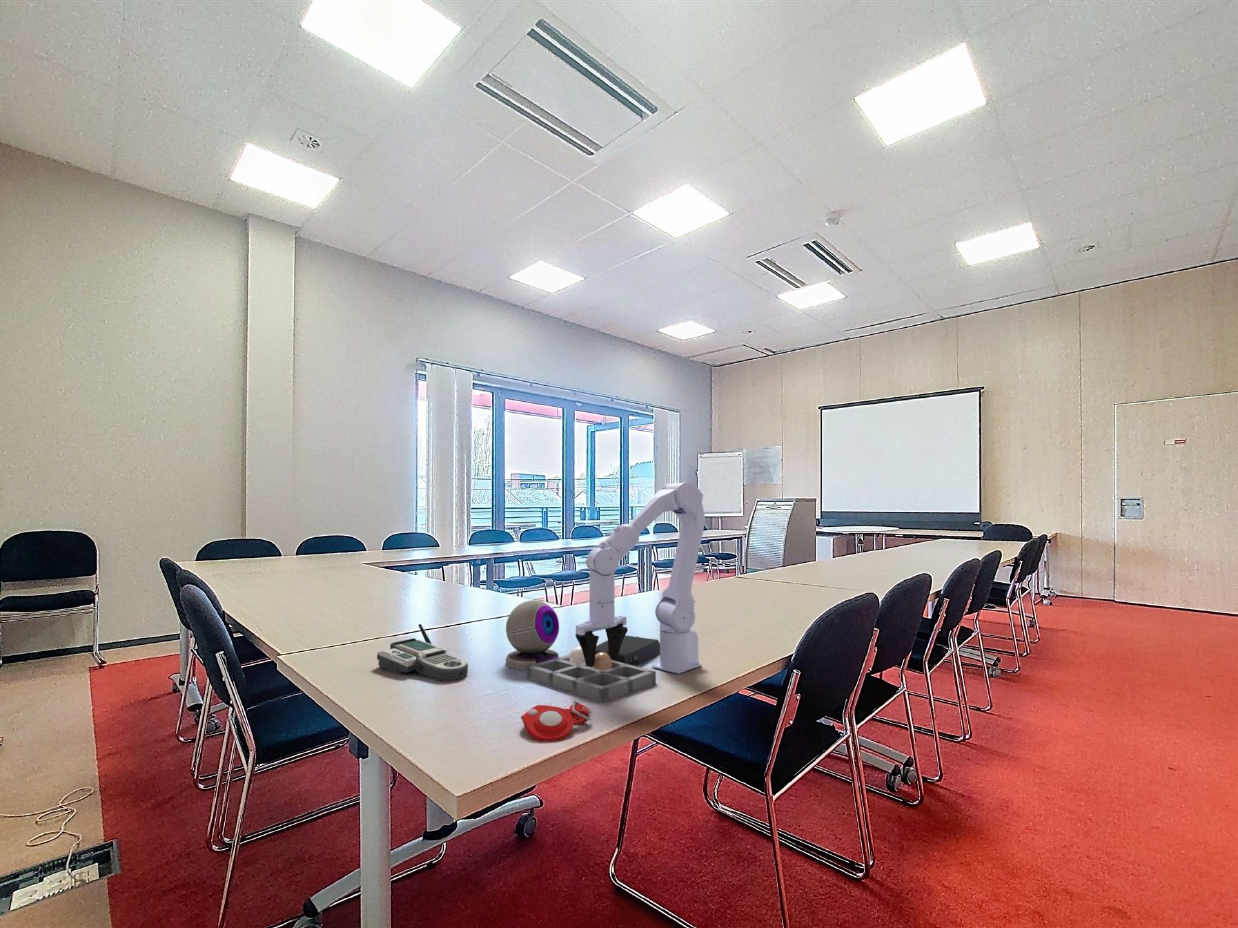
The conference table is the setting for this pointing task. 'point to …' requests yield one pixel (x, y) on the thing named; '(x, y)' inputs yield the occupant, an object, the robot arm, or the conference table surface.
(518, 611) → the webcam
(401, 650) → the communication device
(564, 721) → the tracker holder
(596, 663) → the tan bulbous object
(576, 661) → the cream egg
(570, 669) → the egg crate
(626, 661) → the external hard drive
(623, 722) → the conference table surface
